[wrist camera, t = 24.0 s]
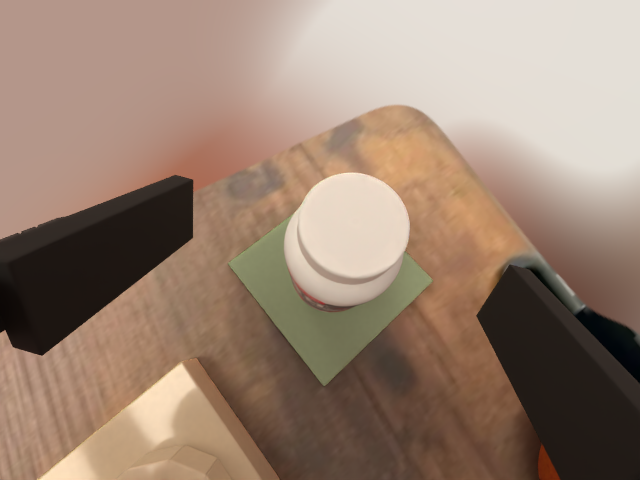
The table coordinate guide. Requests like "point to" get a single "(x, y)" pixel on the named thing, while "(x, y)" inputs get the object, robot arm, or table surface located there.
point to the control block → (169, 437)
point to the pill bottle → (346, 241)
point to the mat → (314, 325)
